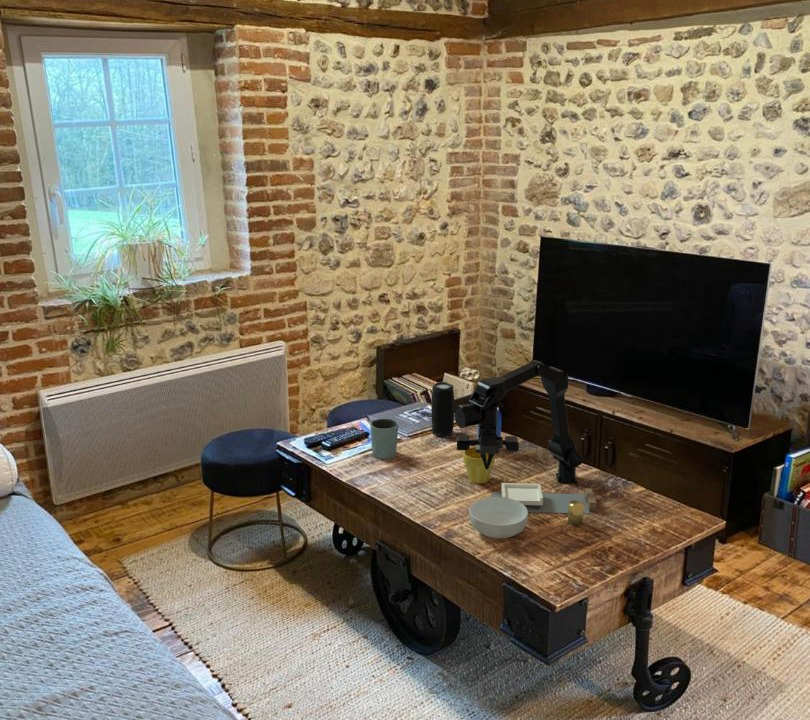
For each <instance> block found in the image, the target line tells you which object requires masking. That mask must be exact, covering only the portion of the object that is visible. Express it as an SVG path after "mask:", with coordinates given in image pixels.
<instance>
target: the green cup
mask: <svg viewBox="0 0 810 720" xmlns="http://www.w3.org/2000/svg"><path fill="white" fill-rule="evenodd" d="M369 425H370V426H369V427H370V439H371V451H372V452H371V453H372V457H373V458H375V459H378V460H389V459H393V458H395V457H396V456H397V450H398V449H397V447H398V434H399V433H398V432H399V422H398V421H397V420H396V419H394V418H386V417H384V418H383V417H381V418H380V417H379V418H377V419H372V421H370V423H369Z"/></svg>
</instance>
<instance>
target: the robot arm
mask: <svg viewBox="0 0 810 720" xmlns="http://www.w3.org/2000/svg"><path fill="white" fill-rule="evenodd" d="M536 377H539V378H540V381H541V382H542V386H543V389H544V390H545V392H546V393H547V394H548V399H549V407H550V416H551V423H552V431H553V432H552V433H553V434H552V436H551V439H548V441H547V444H548V451H549V452H550V454H551V455H552V456H553V459H555V460H557V461H558V467H557V469H558V470H557V471H558V472H555V476H556V481H557V483H562V484H563V483H564V484H565V483H566V484H567V483H568V484H569V483H571V484H577V483H578V478H577V474H576V473H577V468H578V467H579V466H581V465H582V463H583V460H584V458H583V457H582V456H581V455H580V454H579V453H578V452H577V451H578V449H577V446H576V444H575V443H576V442H575V441H574V439H573V438H572V436H571V435H570V432H569V430H570V429H569V423H568V422H569V421H568V413H567V404H566V395H565V394H566V392H567V390H568V388H569V375H568V373H567V372H566V371H564V370H561V369H558V368H556V367H553V366H547V365H546V364H544V363H543V362H541V361H538V360H536V359H535V360H534V359H533V360H530V361H529V362H528V363H526V364H523V365H522V366H520V367H518V368H515V369H513V370H511V371H509V372H507V373H505V374H503V375H500V376H493V377H488V378H484V379H481V380H479V381H478V382H477V385H476V387H475V388H474V391H473V392H472V394H471V395H470V397H469V398H468V403H467V404H459V405H458V408H457V410H456V411H455V412H454V422H455V423H456V425H457V427H458V428H460V429H464V428H469V427H472V426H477V425H478V439H477V438H476V439H475V438H474V439H473V438H472V439H470V435H468V434H467V435H465V434H463V435H462V434H461V435H460V434H459V435H457V436H456V451H464V450H468V449H469V448H470V447H475V452H476V453H479V454H480V455H481V457H482V460H483V463H484V466H485V469H489V466H490V463H491V461H492V459H493V457H494V455H495V456H496V454H499V453H500V449H504V448H503V447H505V450H507V451H508V452H519V450H520V446H519V445H520V443H519V438H518V437H517V435H516V436H515V435H510V436H509V435H508V436H507V435H505V436H504V437H503V436H501V437H498V436H497V415H498V408H500V407H504V406H505V404H504V403H503V402H502V401H501V400H502V399H503V398H504V397H505V396H506V395H507V393H508V392H509V391H510V390H513V389H514V388H516V387H519V386H520V385H522V384H524V383H526V382H529V381H531V380H532V379H534V378H536ZM481 399H482V400H481ZM483 400H485V401H483ZM503 438H504V439H503ZM486 453H488V459H487V460H486Z"/></svg>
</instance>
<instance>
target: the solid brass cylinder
mask: <svg viewBox="0 0 810 720" xmlns="http://www.w3.org/2000/svg"><path fill="white" fill-rule="evenodd" d="M584 515H585V514H584V503H583V502H581V501H570V502H569V509H568V513H567V523H568V524H569V525H571V526H574V527H579V526H583V524H584Z"/></svg>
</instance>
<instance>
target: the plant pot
mask: <svg viewBox="0 0 810 720" xmlns="http://www.w3.org/2000/svg"><path fill="white" fill-rule="evenodd" d="M462 454H463V455H462V457H463V459H462V460H463V463H464V465H465V469H466V473H467V478H468V481H470V482H471V483H473V484H478V485H479V484H480V485H481V484H485V483H488V482H489V480H490V476H491V472H492V468H493V465H494V464H495V462H496V461H495V460H496V454H495V455H494V457H493V459H492V461H491V463H490V466H489V469H485V466H484V463H483V460H482V457H481V455H480V454H479V453H476V452H475V446H470V448H469V449H468V450H463V453H462ZM487 459H488V453H486V460H487Z"/></svg>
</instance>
